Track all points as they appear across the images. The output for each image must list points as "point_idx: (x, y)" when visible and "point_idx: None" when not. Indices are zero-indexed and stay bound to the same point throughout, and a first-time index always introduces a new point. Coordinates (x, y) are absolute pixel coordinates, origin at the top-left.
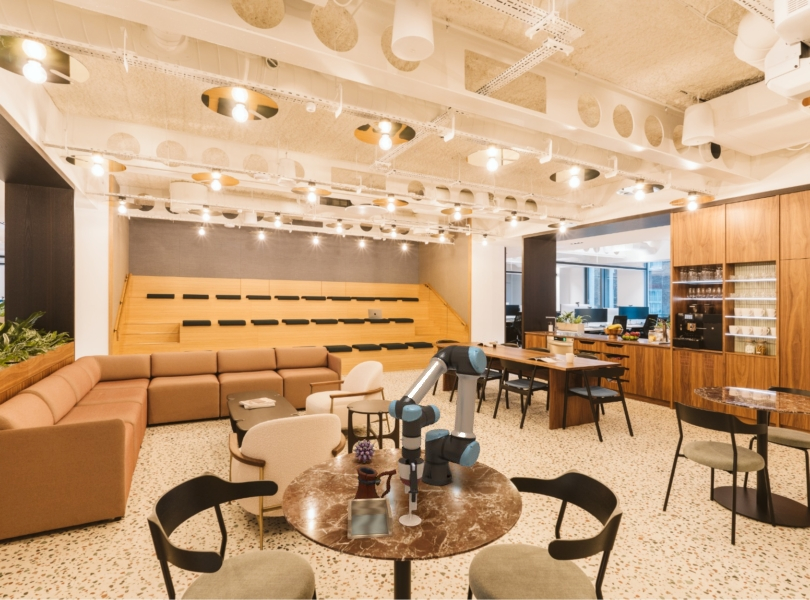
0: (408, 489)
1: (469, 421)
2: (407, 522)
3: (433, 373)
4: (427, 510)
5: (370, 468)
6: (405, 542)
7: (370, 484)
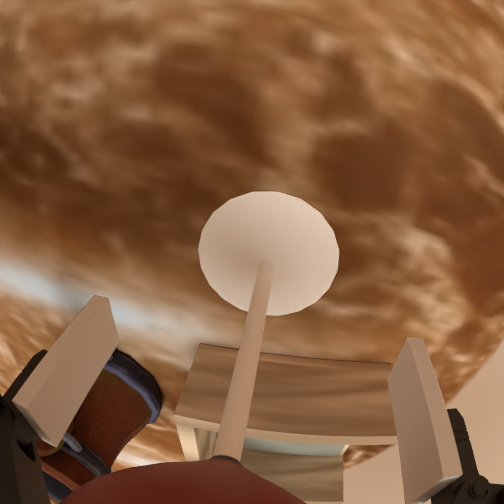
0: (98, 341)
1: None
2: (301, 285)
3: None
4: (158, 119)
5: None
6: (454, 324)
7: (103, 464)
